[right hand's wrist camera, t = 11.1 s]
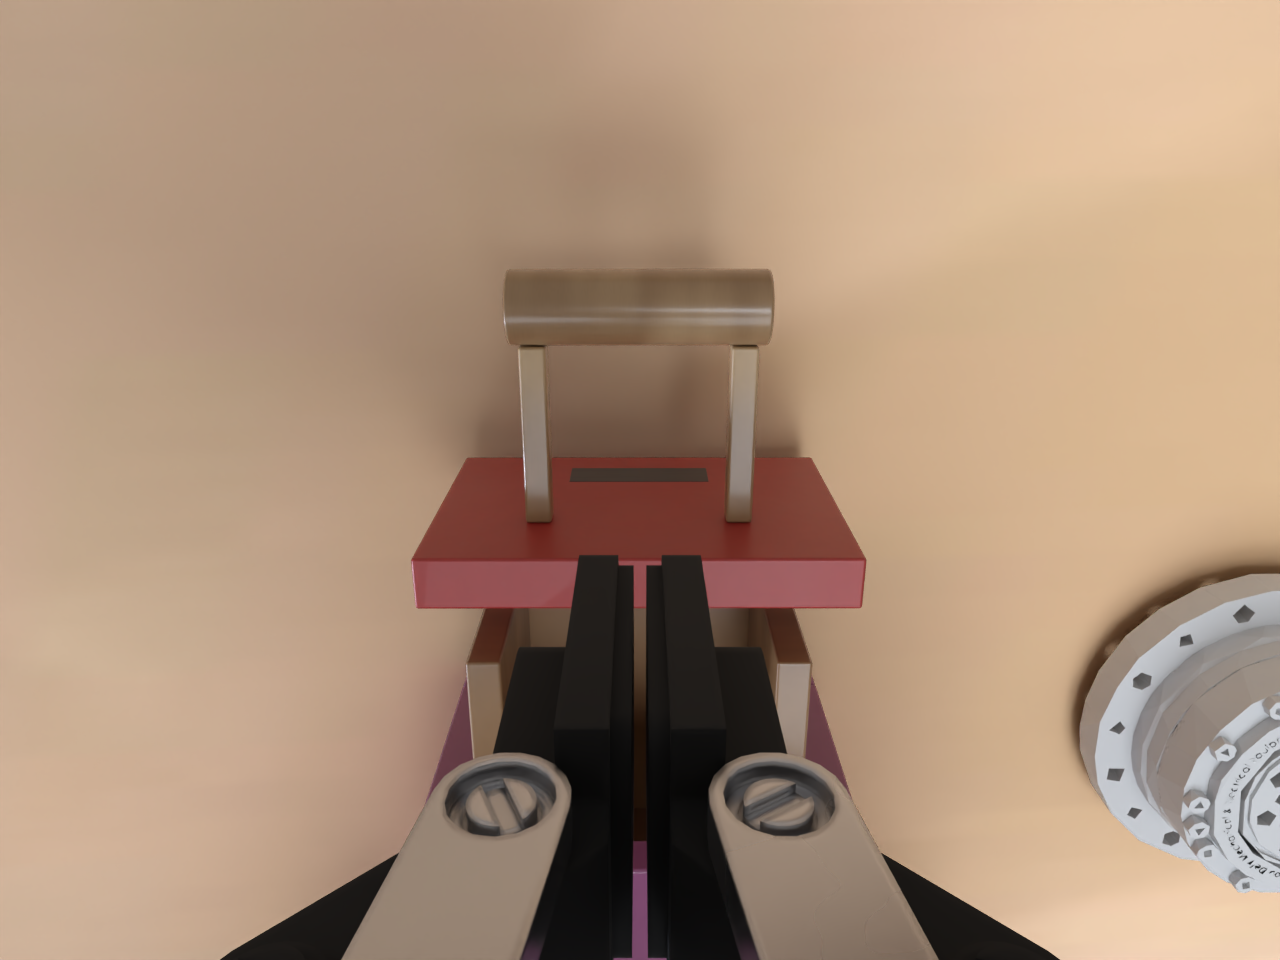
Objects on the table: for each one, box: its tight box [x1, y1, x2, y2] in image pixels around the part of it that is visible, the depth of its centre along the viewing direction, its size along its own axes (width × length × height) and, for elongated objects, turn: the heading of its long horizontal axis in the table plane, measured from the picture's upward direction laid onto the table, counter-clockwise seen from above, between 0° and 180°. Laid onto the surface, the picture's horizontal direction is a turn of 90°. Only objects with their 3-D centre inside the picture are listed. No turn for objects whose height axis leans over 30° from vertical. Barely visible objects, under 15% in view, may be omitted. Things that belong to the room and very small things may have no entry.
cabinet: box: [425, 675, 852, 960], centre depth 27 cm, size 13×11×9 cm
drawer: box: [411, 269, 866, 841], centre depth 23 cm, size 18×10×7 cm, turn 0°
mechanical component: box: [1080, 574, 1280, 893], centre depth 27 cm, size 10×4×10 cm
